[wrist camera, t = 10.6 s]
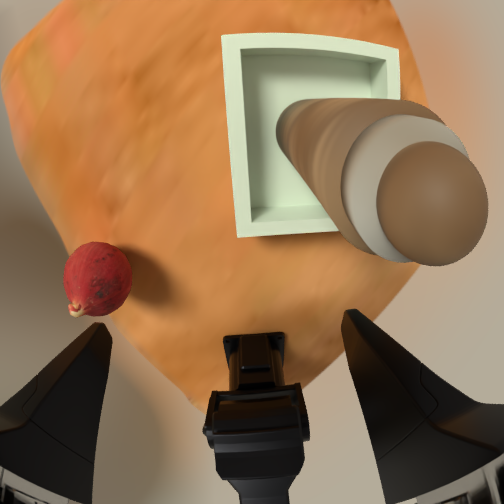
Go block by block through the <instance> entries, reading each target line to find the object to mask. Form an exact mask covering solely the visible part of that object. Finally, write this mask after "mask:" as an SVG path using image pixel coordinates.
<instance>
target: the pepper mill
mask: <svg viewBox="0 0 504 504" xmlns="http://www.w3.org/2000/svg"><path fill="white" fill-rule="evenodd" d="M276 140H277V143H278V145H279V147H280V149H281V151H282V152H283V153H284V155H285V156H286V157H287V159H288V160H289V161H290V163H291V164H292V165H293V166H294V168H295V169H296V170H297V172H298V173H299V174H300V176H301V177H302V179H303V180H304V181H305V183H306V184H307V185H308V187H309V188H310V189H311V191H312V192H313V194H314V195H315V196H316V198H317V199H318V201H319V202H320V204H321V205H322V206H323V208H324V209H325V211H326V212H327V214H328V215H329V217H330V218H331V220H332V221H333V223H334V224H335V226H336V227H337V229H338V230H339V231H340V233H341V234H342V235H343V237H344V238H345V239H346V240H347V241H348V242H349V243H351V244H352V245H354V246H355V247H356V248H358V249H360V250H362V251H364V252H367V253H369V254H373V255H378V256H380V257H382V258H384V259H387V260H389V261H393V262H403V263H406V262H413V261H414V262H416V263H419V264H423V265H428V266H444V265H448V264H451V263H454V262H456V261H458V260H460V259H461V258H463V257H465V256H466V255H468V254H469V252H471V251H472V250H473V249H474V247H475V246H476V245H477V243H478V242H479V240H480V238H481V236H482V234H483V232H484V229H485V226H486V223H487V217H488V198H487V192H486V188H485V185H484V183H483V180H482V177H481V175H480V174H479V172H478V170H477V169H476V167H475V166H474V164H473V163H472V162H471V161H470V160H469V157H468V154H467V151H466V149H465V147H464V145H463V143H462V142H461V140H460V139H459V138H458V136H457V135H455V133H454V132H453V131H452V130H451V129H449V128H448V127H447V126H446V125H445V123H444V122H443V121H442V120H441V119H440V118H439V117H438V116H437V115H436V114H435V113H433V112H432V111H431V110H430V109H428V108H426V107H424V106H422V105H420V104H417V103H415V102H411V101H406V100H396V99H379V98H319V99H304V100H299V101H296V102H294V103H292V104H290V105H289V106H288V107H286V108H285V109H284V110H283V112H282V113H281V114H280V116H279V118H278V121H277V124H276Z"/></svg>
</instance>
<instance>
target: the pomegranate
mask: <svg viewBox="0 0 504 504" xmlns="http://www.w3.org/2000/svg"><path fill="white" fill-rule="evenodd" d="M131 286H132V270H131V266H130V264H129V262H128V259H127V257H126V256H125V255H124V254H123V253H122V252H121V251H120V250H119V249H118V248H117V247H114V246H112V245H110V244H108V243H102V242H90V243H87V244H84V245H82V246H80V247H79V248H78V249H76V250H75V252H74V253H73V254H72V255H71V256H70V257H69V259H68V260H67V262H66V265H65V269H64V288H65V291H66V294H67V297H68V299H69V300H70V302H71V304H69V307H68V308H69V312H70V314H71V315H73V316H75V317H77V318H78V317H80V316H83V315H85V314H86V315H89V316H104V315H108V314H110V313H112V312H113V311H115V310H117V309H118V308H119V307H120V306H122V304H123V303H124V301H125V300H126V298H127V296H128V294H129V292H130V290H131Z"/></svg>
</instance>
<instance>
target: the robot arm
mask: <svg viewBox="0 0 504 504" xmlns="http://www.w3.org/2000/svg"><path fill="white" fill-rule="evenodd" d="M341 332H342V337H343V342H344V347H345V351H346V356H347V361H348V366H349V370H350V373H351V376H352V379H353V382H354V386H355V389H356V392H357V395H358V398H359V402H360V405H361V408H362V412H363V415H364V419H365V422H366V425H367V429H368V433H369V436H370V440H371V444H372V448H373V451H374V455H375V459H376V464H377V468H378V472H379V476H380V480H381V484H382V489H383V493H384V498H385V502H386V504H396V503H399V502H403V501H406V500H409V499H412V498H415V497H416V499H417V503H415V504H504V404H485V403H480V402H477V401H474V400H473V399H471V398H469V397H468V396H467V395H465V394H464V393H462V392H461V391H459V390H458V389H456V388H455V387H453V386H452V385H450V384H449V383H447V382H446V381H444V380H443V379H442V378H440V377H439V376H438V375H436V374H435V373H434V372H433V371H431V370H430V369H429V368H428V367H427V366H425V365H424V364H423V363H421V362H420V361H419V360H418V359H417V358H416V357H414V356H413V355H412V354H411V353H410V352H409V351H407V350H406V349H405V348H404V347H403V346H401V345H400V344H399V343H398V342H396V341H395V340H394V339H393V338H392V337H390V336H389V335H388V334H387V333H385V332H384V331H383V330H382V329H381V328H379V327H378V326H377V325H376V324H374V323H373V322H372V321H371V320H370V319H368V318H367V317H366V316H365V315H363V314H362V313H361V312H360V311H358V310H357V309H348V310H345V312H344V315H343V320H342V324H341ZM279 336H280V337H279ZM223 344H224V349H225V354H226V358H227V363H228V368H229V391H212V393H211V397H210V399H209V404H208V409H207V414H206V420H205V424H204V427H203V434H204V435H205V436H206V437H207V440H208V444H209V446H210V448H212V449H214V453H215V461H216V471H217V473H218V474H219V476H220V477H221V479H222V480H227V481H228V482H229V483H230V484H231V485H232V486H233V488H234V489H235V490H236V491H237V492H238V494H239V500H240V504H290V503H289V493H288V489H289V488H290V486H291V484H292V482H293V481H294V479H295V477H296V476H297V475H298V474H299V473H300V471H301V468H302V466H303V463H304V460H305V456H304V447H303V442H304V441H309V440H310V429H309V420H308V414H307V409H306V405H305V401H304V397H303V393H302V389H301V385H300V383H294V384H292V385H285V382H284V375H283V360H284V333H282V332H275V333H263V334H250V335H233V336H225V337H224V338H223ZM111 349H112V337H111V335H110V333H109V331H108V329H107V327H106V326H105V324H104V323H98V322H95V323H93V324H92V325H91V326H90V327H89V328H87V329H86V330H85V331H84V332H83V333H82V334H81V335H80V336H78V337H77V338H76V339H75V340H74V341H73V342H72V343H70V344H69V345H68V346H67V347H66V348H65V349H64V350H63V351H62V352H61V353H59V354H58V355H57V356H56V357H55V358H54V359H53V360H52V361H51V362H50V363H49V364H48V365H46V366H45V367H44V368H43V369H42V370H41V371H40V372H39V373H38V375H36V376H35V377H34V378H33V379H32V380H31V381H30V382H28V384H26V385H25V386H24V387H23V388H22V389H21V390H20V391H18V392H17V393H16V394H15V395H14V396H13V397H11V398H10V399H9V400H8V401H6V402H5V403H4V404H3V405H2V406H0V504H68V502H69V499H70V500H73V501H76V502H79V503H82V504H92V489H93V474H94V460H95V451H96V443H97V436H98V429H99V422H100V416H101V410H102V404H103V399H104V394H105V389H106V384H107V379H108V373H109V365H110V356H111Z"/></svg>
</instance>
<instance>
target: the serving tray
mask: <svg viewBox="0 0 504 504" xmlns="http://www.w3.org/2000/svg"><path fill="white" fill-rule="evenodd" d="M221 40H222V55H223V70H224V84H225V98H226V111H227V124H228V137H229V149H230V161H231V173H232V185H233V196H234V207H235V218H236V229H237V238H239V237H252V236H267V235H282V234H297V233H313V232H329V231H339V230H338V229H337V227H336V226H335V224H334V223H333V221H332V220H331V218H330V217H329V215H328V214H327V212H326V211H325V209H324V208H323V206H322V205H321V204H320V202H319V201H318V199H317V198H316V196H315V195H314V194H313V192H312V191H311V189H310V188H309V187H308V185H307V184H306V183H305V181H304V180H303V179H302V177H301V176H300V174H299V173H298V172H297V170H296V169H295V168H294V166H293V165H292V164H291V163H290V161H289V160H288V159H287V157H286V156H285V155H284V153H283V152H282V151H281V149H280V147H279V145H278V143H277V140H276V124H277V121H278V118H279V116H280V114H281V113H282V112H283V110H284V109H285V108H286V107H288V106H289V105H290V104H292V103H294V102H296V101H299V100H304V99H319V98H379V99H396V100H400V67H399V51H398V49H395V48H391V47H387V46H383V45H379V44H374V43H369V42H364V41H358V40H352V39H346V38H339V37H331V36H322V35H311V34H296V33H246V34H230V35H221Z"/></svg>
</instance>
